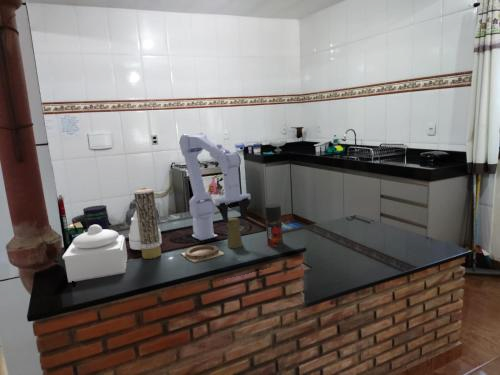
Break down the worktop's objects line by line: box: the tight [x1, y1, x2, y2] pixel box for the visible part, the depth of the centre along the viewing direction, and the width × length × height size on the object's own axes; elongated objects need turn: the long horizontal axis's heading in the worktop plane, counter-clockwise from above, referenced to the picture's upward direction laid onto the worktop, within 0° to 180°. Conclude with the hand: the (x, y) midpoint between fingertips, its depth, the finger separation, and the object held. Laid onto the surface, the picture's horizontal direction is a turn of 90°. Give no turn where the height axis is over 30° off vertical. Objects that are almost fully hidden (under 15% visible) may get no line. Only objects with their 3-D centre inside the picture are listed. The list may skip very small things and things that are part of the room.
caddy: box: [180, 244, 225, 264], centre depth 133 cm, size 12×12×2 cm
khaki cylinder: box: [225, 217, 244, 249], centre depth 140 cm, size 6×6×11 cm
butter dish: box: [62, 225, 128, 283], centre depth 126 cm, size 18×18×16 cm
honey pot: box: [128, 210, 163, 251], centre depth 150 cm, size 13×13×18 cm
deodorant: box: [264, 203, 284, 248], centre depth 137 cm, size 6×6×15 cm
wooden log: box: [133, 188, 162, 260], centre depth 134 cm, size 7×7×25 cm
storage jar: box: [82, 205, 111, 233], centre depth 163 cm, size 10×10×15 cm
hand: (234, 220), depth 138 cm, fingers open, 7 cm apart
